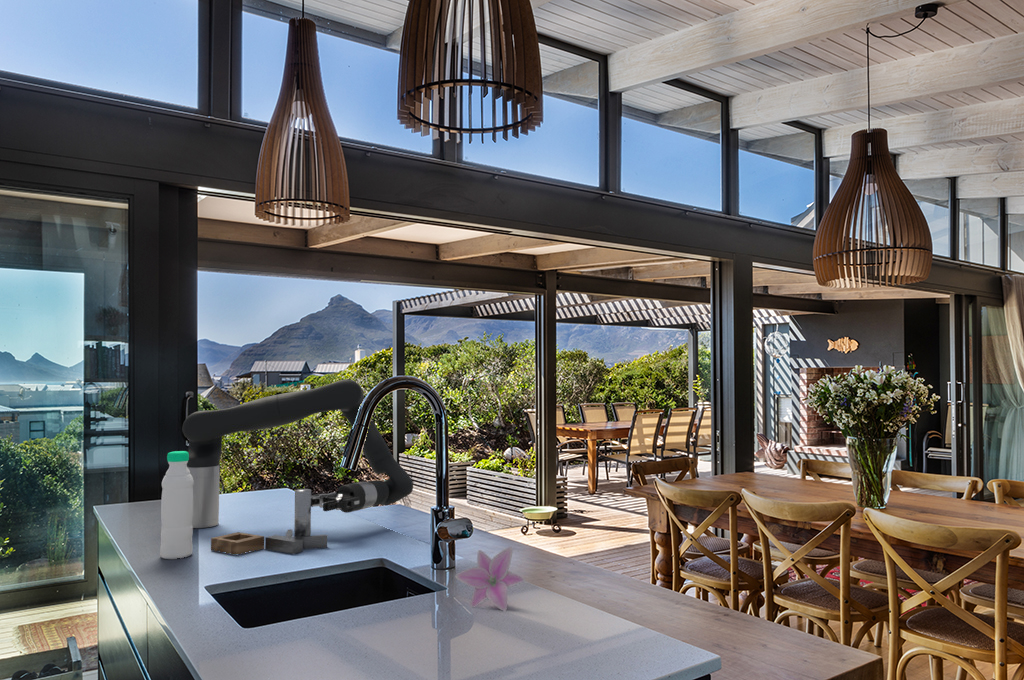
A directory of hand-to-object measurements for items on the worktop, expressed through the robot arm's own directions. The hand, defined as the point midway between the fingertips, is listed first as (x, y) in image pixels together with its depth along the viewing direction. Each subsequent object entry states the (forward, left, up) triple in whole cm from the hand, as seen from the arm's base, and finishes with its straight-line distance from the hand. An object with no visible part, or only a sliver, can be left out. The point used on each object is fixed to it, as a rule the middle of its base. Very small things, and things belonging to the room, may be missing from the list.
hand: (312, 505), depth 188 cm
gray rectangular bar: (0, -3, -10) cm, 10 cm away
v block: (0, -6, -10) cm, 11 cm away
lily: (+67, -18, -10) cm, 70 cm away
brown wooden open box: (-11, -14, -10) cm, 20 cm away
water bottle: (-18, -26, -10) cm, 33 cm away
